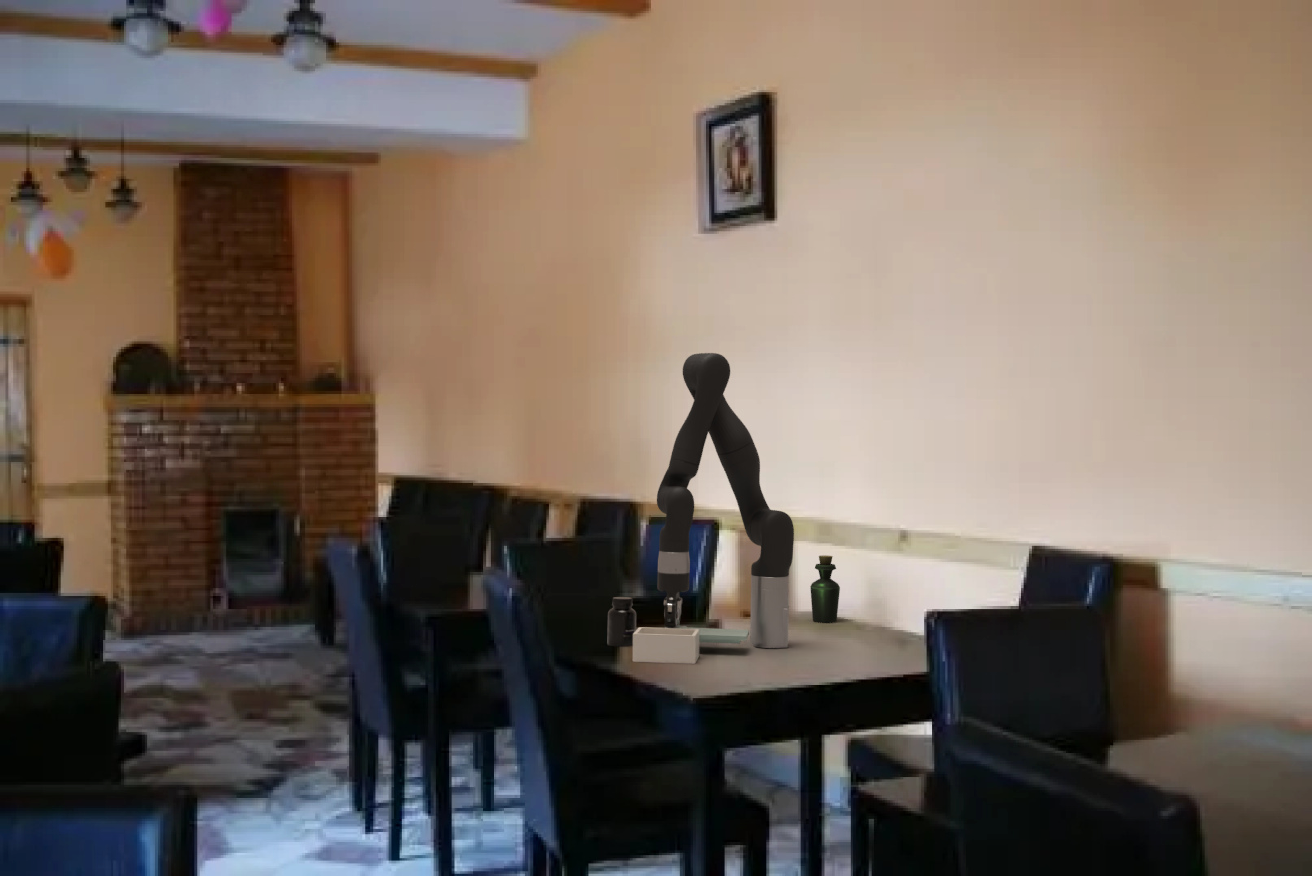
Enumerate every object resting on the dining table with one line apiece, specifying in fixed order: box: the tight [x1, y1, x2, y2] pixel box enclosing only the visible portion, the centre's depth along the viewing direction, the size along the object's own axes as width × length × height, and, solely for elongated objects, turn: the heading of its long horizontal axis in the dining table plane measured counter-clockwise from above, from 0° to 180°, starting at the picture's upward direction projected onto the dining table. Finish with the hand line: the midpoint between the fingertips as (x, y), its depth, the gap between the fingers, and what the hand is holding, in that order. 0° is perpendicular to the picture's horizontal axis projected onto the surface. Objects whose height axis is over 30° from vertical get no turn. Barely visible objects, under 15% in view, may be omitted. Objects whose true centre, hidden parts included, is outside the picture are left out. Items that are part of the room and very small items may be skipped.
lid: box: [664, 625, 750, 645], centre depth 325 cm, size 19×11×3 cm, turn 83°
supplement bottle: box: [606, 596, 637, 648], centre depth 333 cm, size 7×7×12 cm
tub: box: [632, 626, 700, 665], centre depth 314 cm, size 14×10×7 cm
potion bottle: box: [809, 554, 841, 624], centre depth 381 cm, size 8×8×18 cm
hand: (672, 642), depth 326 cm, fingers closed on lid, 4 cm apart
